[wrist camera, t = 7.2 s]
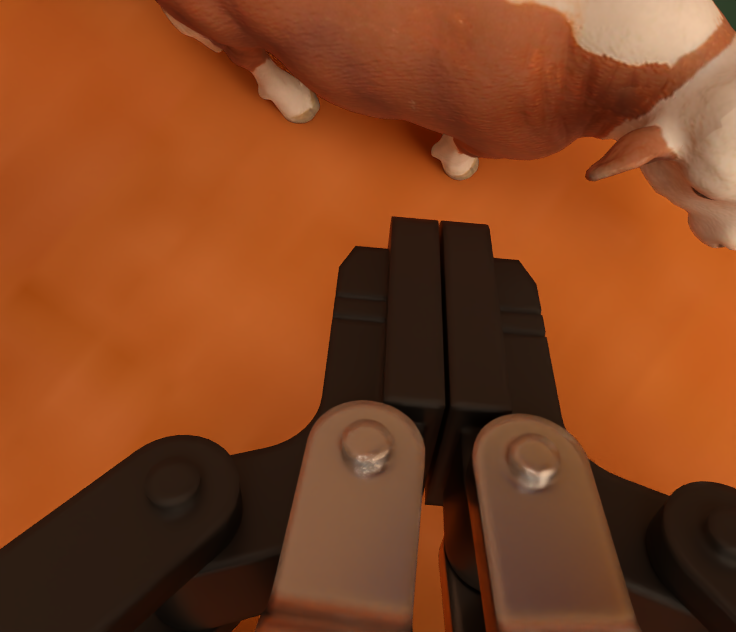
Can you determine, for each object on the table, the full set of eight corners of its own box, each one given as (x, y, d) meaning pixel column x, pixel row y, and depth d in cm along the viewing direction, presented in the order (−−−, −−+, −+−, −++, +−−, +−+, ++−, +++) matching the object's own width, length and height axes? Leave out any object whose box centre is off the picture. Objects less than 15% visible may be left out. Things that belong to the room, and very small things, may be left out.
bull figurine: (611, 298, 17) (847, 284, 9) (148, 62, 17) (-57, -178, 8) (686, 148, 17) (994, -8, 9) (225, -89, 17) (93, -475, 8)
